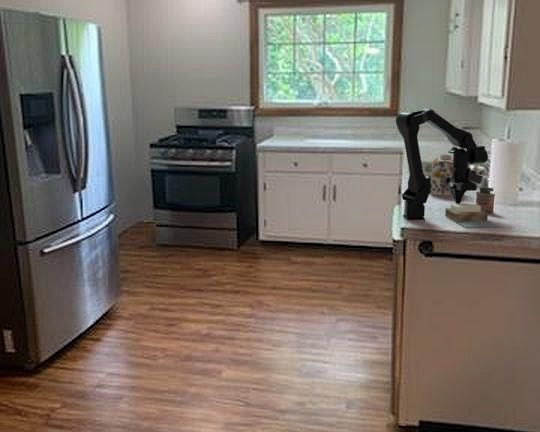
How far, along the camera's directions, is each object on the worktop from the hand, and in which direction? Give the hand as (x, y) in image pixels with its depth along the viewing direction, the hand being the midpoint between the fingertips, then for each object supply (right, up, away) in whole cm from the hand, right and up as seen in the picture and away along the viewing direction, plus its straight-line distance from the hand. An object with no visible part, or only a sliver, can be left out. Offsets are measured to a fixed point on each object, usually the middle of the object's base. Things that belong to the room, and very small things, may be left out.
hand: (457, 205), depth 226 cm
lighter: (+12, -3, +5) cm, 13 cm away
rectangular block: (+1, -2, -7) cm, 7 cm away
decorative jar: (+7, +6, +41) cm, 42 cm away
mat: (+1, -7, -16) cm, 18 cm away
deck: (+1, -5, -7) cm, 9 cm away
